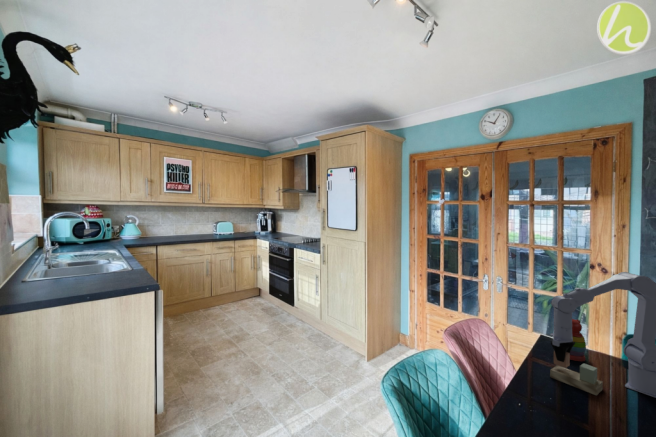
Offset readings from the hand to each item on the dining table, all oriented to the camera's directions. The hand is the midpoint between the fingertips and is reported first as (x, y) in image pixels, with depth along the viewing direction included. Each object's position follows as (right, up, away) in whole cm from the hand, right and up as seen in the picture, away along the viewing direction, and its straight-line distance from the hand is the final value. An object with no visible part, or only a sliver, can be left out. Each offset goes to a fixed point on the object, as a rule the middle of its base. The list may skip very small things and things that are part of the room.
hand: (562, 359), depth 112 cm
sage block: (+4, -5, -7) cm, 9 cm away
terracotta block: (0, -2, 0) cm, 2 cm away
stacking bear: (+20, -8, +18) cm, 29 cm away
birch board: (+2, -8, -3) cm, 9 cm away
